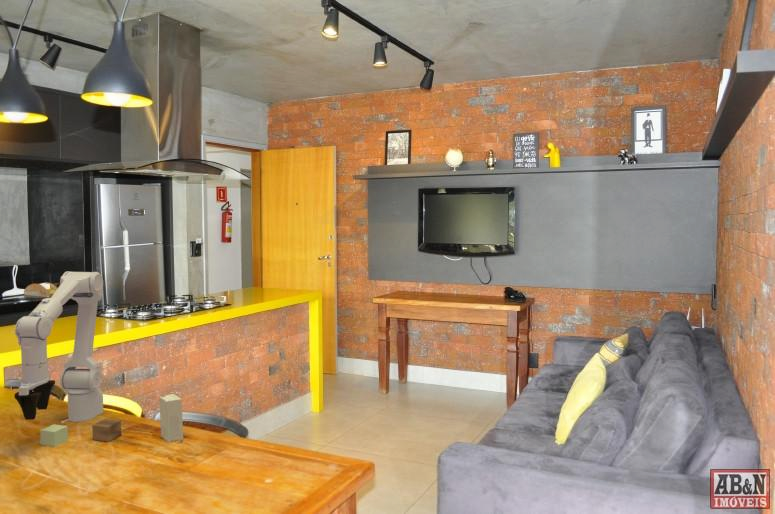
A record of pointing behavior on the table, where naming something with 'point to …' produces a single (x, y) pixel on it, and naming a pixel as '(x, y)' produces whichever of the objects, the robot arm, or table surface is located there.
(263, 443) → the table surface
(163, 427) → the skincare box
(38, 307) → the robot arm
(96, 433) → the walnut block
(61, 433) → the sage block
